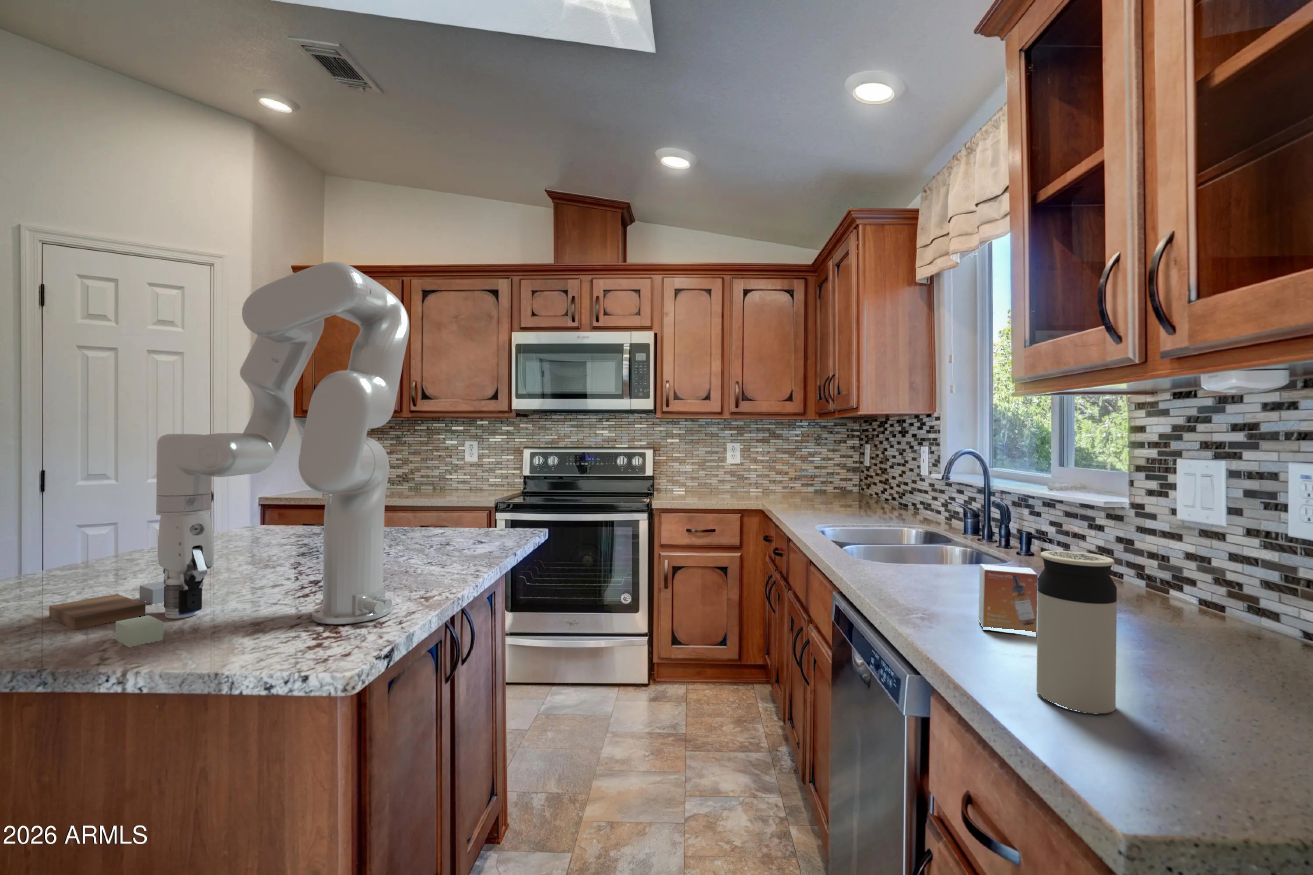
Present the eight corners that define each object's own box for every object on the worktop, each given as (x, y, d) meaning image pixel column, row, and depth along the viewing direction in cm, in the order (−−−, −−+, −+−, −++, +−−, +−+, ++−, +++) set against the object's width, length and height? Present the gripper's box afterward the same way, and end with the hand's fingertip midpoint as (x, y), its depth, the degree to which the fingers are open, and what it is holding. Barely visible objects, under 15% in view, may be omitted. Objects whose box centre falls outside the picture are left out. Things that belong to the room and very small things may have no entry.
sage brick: (163, 641, 90) (163, 621, 90) (129, 648, 87) (129, 628, 87) (148, 633, 94) (148, 615, 94) (115, 641, 90) (115, 621, 90)
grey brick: (178, 601, 112) (179, 585, 112) (152, 606, 109) (152, 589, 109) (165, 596, 115) (165, 581, 115) (139, 601, 112) (139, 585, 112)
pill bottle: (184, 619, 100) (185, 570, 100) (157, 618, 100) (158, 569, 100) (206, 611, 105) (207, 564, 105) (180, 610, 105) (181, 563, 105)
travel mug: (1089, 721, 68) (1090, 564, 68) (1022, 693, 75) (1023, 552, 75) (1130, 709, 71) (1132, 559, 71) (1062, 683, 78) (1063, 548, 78)
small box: (982, 631, 100) (983, 569, 100) (978, 622, 105) (978, 562, 105) (1037, 638, 97) (1038, 573, 97) (1030, 628, 102) (1031, 567, 102)
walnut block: (145, 615, 102) (145, 603, 102) (74, 629, 94) (75, 617, 94) (117, 604, 108) (117, 593, 108) (49, 617, 100) (49, 605, 100)
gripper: (233, 506, 102) (231, 611, 102) (187, 499, 110) (186, 597, 110) (180, 510, 95) (179, 623, 95) (136, 503, 104) (135, 606, 104)
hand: (182, 608), depth 103 cm, fingers closed on pill bottle, 4 cm apart
